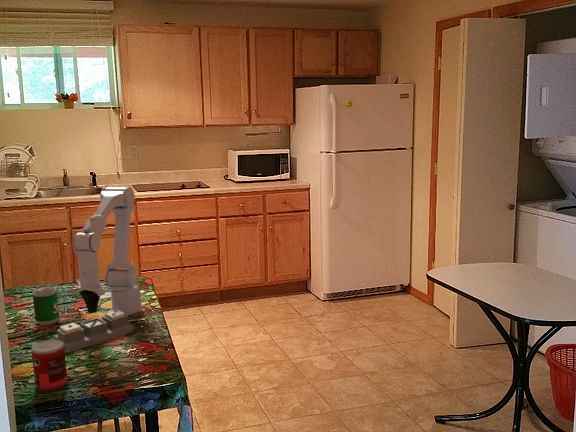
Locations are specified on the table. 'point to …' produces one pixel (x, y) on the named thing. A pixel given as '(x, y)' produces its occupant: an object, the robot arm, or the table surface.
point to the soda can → (45, 305)
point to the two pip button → (114, 315)
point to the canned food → (49, 365)
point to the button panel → (94, 333)
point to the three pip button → (93, 323)
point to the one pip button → (70, 328)
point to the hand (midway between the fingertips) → (92, 312)
